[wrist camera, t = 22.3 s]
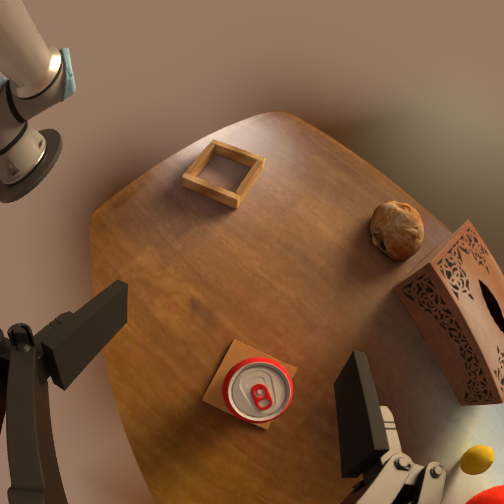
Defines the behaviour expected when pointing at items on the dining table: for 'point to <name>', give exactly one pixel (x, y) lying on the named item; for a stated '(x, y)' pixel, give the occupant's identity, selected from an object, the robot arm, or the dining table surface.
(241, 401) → the beverage can
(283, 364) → the cork mat
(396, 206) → the bread roll
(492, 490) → the apple
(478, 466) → the lemon
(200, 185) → the square wooden frame
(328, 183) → the dining table surface
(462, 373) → the tissue box cover
